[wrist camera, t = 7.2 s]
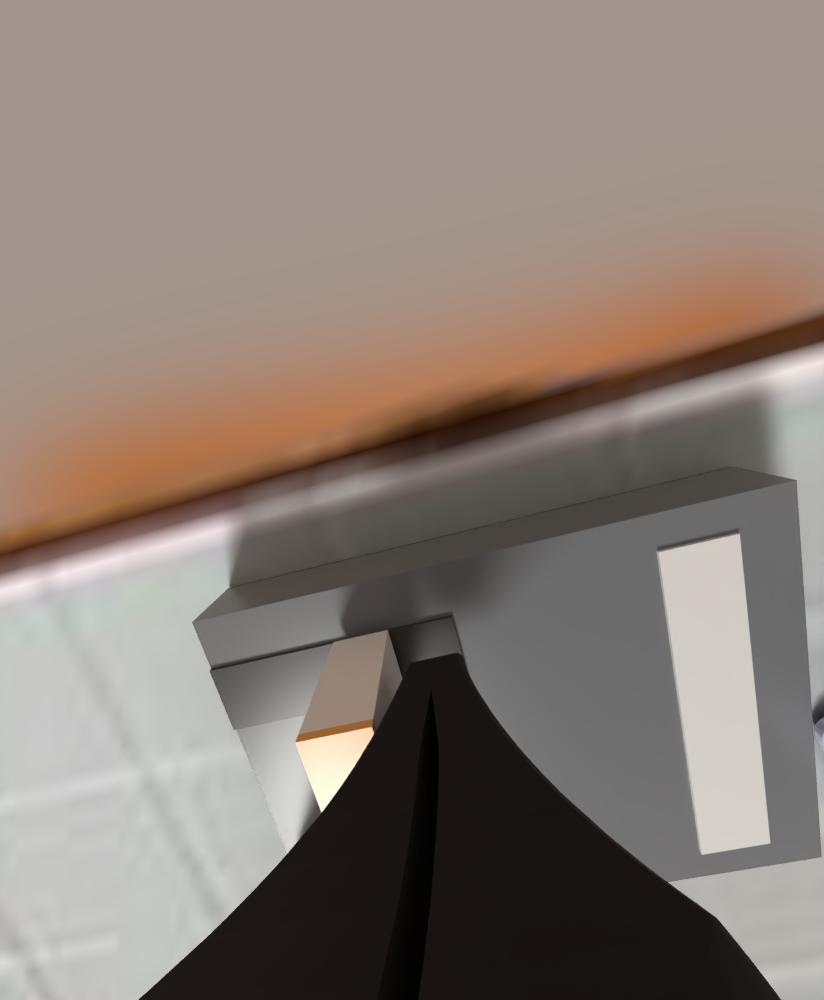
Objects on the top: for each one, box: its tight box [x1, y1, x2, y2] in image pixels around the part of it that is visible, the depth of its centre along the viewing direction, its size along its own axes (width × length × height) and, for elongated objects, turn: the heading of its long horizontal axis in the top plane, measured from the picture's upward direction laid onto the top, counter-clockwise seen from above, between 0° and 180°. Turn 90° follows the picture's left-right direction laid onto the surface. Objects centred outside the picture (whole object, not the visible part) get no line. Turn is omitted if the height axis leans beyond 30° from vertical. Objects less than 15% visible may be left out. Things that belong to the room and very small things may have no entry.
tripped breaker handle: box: [295, 630, 402, 813], centre depth 10 cm, size 2×2×3 cm, turn 15°
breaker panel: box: [192, 467, 821, 882], centre depth 13 cm, size 16×12×2 cm
